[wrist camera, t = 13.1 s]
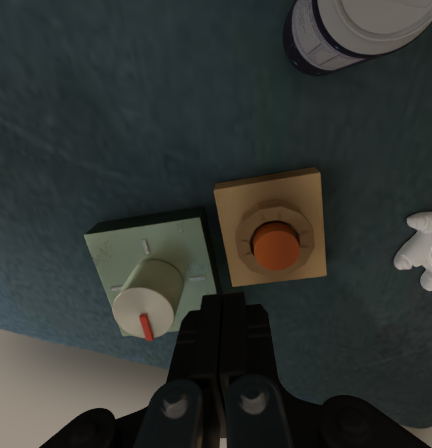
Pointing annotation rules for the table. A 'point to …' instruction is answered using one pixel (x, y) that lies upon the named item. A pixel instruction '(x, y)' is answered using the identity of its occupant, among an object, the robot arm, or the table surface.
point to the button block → (272, 213)
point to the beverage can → (350, 31)
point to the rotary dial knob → (149, 300)
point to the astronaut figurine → (418, 248)
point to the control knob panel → (157, 253)
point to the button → (275, 246)
